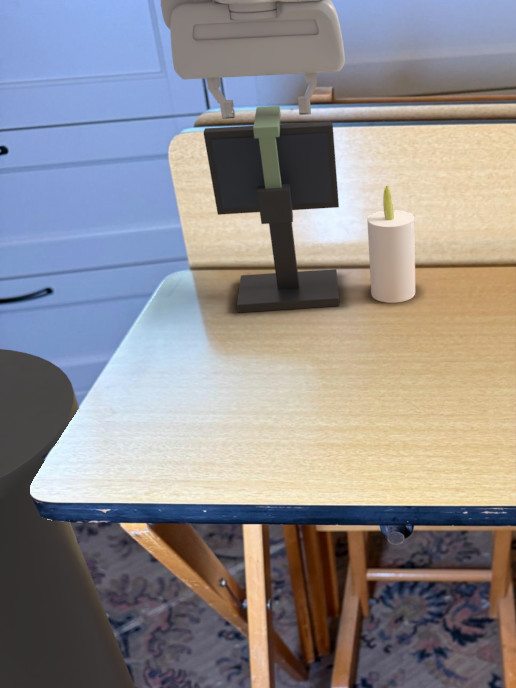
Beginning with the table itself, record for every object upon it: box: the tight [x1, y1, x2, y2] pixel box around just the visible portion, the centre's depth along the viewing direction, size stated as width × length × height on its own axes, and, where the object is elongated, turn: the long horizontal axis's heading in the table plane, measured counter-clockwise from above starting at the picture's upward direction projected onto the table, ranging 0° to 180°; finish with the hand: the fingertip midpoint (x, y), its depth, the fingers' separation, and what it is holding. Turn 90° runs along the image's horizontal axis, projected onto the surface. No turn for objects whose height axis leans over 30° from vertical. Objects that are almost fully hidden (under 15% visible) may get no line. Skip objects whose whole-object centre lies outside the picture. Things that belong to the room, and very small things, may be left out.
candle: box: [366, 185, 416, 304], centre depth 108 cm, size 6×6×15 cm
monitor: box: [203, 120, 340, 314], centre depth 106 cm, size 16×10×22 cm, turn 95°
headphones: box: [252, 105, 294, 225], centre depth 102 cm, size 4×12×11 cm, turn 5°
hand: (267, 115), depth 98 cm, fingers open, 8 cm apart
